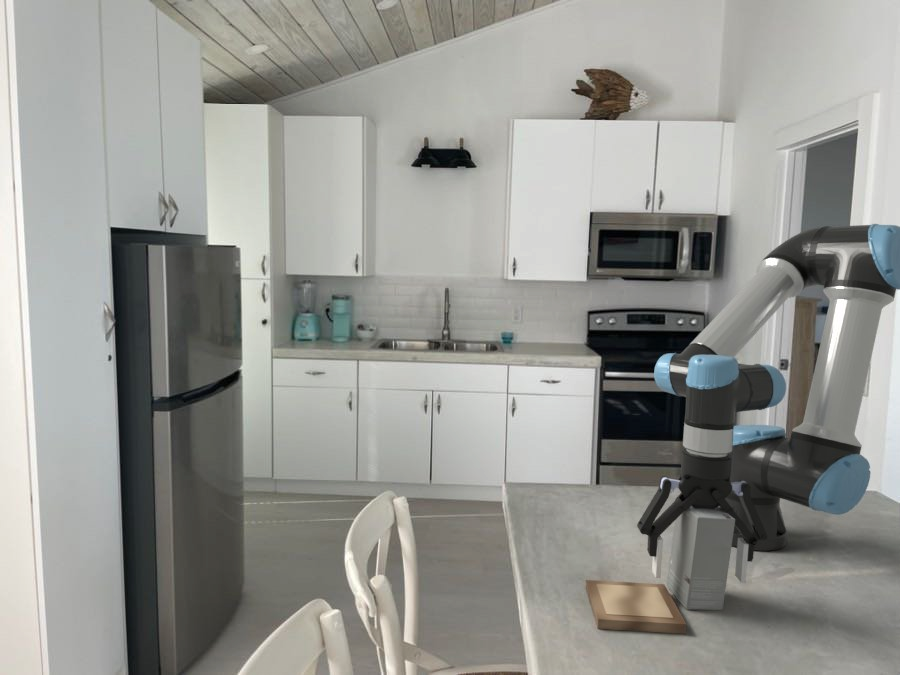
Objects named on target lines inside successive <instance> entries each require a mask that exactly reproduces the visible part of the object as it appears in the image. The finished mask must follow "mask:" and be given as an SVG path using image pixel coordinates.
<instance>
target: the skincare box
mask: <svg viewBox="0 0 900 675" xmlns="http://www.w3.org/2000/svg"><path fill="white" fill-rule="evenodd" d="M734 525H735V519H734V518H733V517H732V516H730V515H729V514H728V513H726V512H725V511H724V510H723V509H722V508H721V507H720V506H718V507H716V508H715V509H709V508H695V507H693V506H691V507H690V508H689V509H688V510H686V511H684V512H683V513H682V514H681V515H680V516H679V517H678V518H677V519H676V520H675V521H674V525H673V534H672V539H671V540H672V541H671V548H670V556H669V563H668V564H669V565H668V570H667V572H668V573H667V578H666V588H667V589H668V590H670V592H671V593H672V594H673V595H674V596H675V598H676V599H677V600H678V601H679V602H680V603H681V605H682V606H683V607H684V608H685V609H686V610H708V611H709V610H711V611H716V610H717V611H720V610H723V609H724V604H725V597H726V596H725V595H726V590H727V582H728V574H729V566H730V559H731V552H732V551H731V550H732V547H733V546H732V539H733V532H734Z"/></svg>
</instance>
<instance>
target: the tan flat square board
mask: <svg viewBox="0 0 900 675" xmlns="http://www.w3.org/2000/svg"><path fill="white" fill-rule="evenodd" d="M585 592H586V595H587V598H588V602H589V604H590V608H591V611H592V615H593V618H594V622H595V625H596V627H597V629H599V630H615V631H631V632H632V631H634V632H646V633H647V632H649V633H664V634H665V633H666V634H667V633H668V634H682V635H686V634H687V623H686V621H685V619H684V617H683V616H682V614H681V612H680V610H679V609H678V607H677V604H676V603H675V600H674V599H673V597H672V596H671V594H670V592H669V589H668V587H667V586H666V585H665V584H664V583H651V582H650V583H649V582H628V581H610V580H593V579H586V580H585Z"/></svg>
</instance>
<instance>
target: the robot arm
mask: <svg viewBox="0 0 900 675" xmlns="http://www.w3.org/2000/svg"><path fill="white" fill-rule="evenodd" d="M813 286H821V287H822V286H823V290H822V291H823V293H824V295H825V296H826V297H827V299H828V300H829V303H828V308H827V313H826V317H825V321H824V327H823V330H822V334H821V338H820V339H821V340H820V344H819V349H818V353H817V359H816V363H815V367H814V372H813V376H812V381H811V383H810V384H811V385H810V389H809V394H808V399H807V402H806V407H805V413H804V416H803V420H802V423H801V424H800V425H798V426H795V427H793V429H792V430H791V434H790V437H786V436H787V433H786V429H785V428H784V427H783V426H778V425H769V424H768V425H767V424H739V425H735V414H736V413H740V412H749V411H762V410H766V409H769V408H773V407H775V406H778V404H780V403H781V402H782V400H784V397H785V395H786V391H787V383H786V379H785V377H784V375H783V373H782V372H781V371H780V370H779V369H778V368H776V367H775V366H773V365H770V364H761V363H755V364H745V363H739V362H738V359H736V358H735V357H736V356H737V355H738V354H739V352H740V351H741V350H742V349H744V347H745V346H746V345H747V344H748V343H749V342H750V341H751V340H752V339H753V337H754V336H755V335H756V334H757V332H759V330H760V329H761V328H762V327H763V326H764V325H765V324H766V323H767V322H768V321H769V320H770V318H771V317H773V315H774V314H775V313H776V312H777V311H778V310H779V309H780V307H781V306H782V305H783V304H784V303H785V302H786V301H787V299H791V298H795V297H797V296H798V295H800V294H801V293H802V291H804V289H806V288H809V287H813ZM897 290H900V226H898V225H895V224H878V223H871V224H865V225H864V224H862V225H861V224H860V225H836V226H835V225H833V226H829V225H827V226H816V227H812V228H810V229H806V230H804V231H801V232H799V233H797V234H795V235H793V236H791V237H789V239H787V240H784V242H782V243H780V244H779V245H778V246H777V247H775V248H774V249H772V251H770V252H769V253H768V254H767V255H766V256H765V257H764V258H763V259H762V260H761V261H760V262H759V263H758V265H757V266H756V272H755V275H754V276H753V277H752V278H750V280H749V281H748V282H747V283H746V284H745V285H744V287H742V289H740V290H739V292H738V293H737V294H736V295H735V296H734V297H733V298H732V299H731V300H730V301H729V302H728V303H727V305H726V306H725V307H724V308H722V309H721V311H720V312H719V313H718V314H717V315H716V316H715V317H714V318H713V319H712V320H711V321H710V322H709V323H708V325H707V326H705V328H703V329H702V330H701V332H699V333H698V334H697V336H696V337H695V338H694V339H693V340H692V341H691V342H690V343H689V344H688V346H686V348H685V349H684V350H682V352H681V353H677V352H674V353H673V352H672V353H671V352H670V353H664V354H663V355H662V356H660V357H659V358H658V360H657V361H656V364H655V366H654V373H653V376H654V381H655V383H656V385H657V387H658V388H659V389H660V390H661V391H662V392H665V393H668V394H672V395H675V396H678V397H685V411H684V412H685V414H684V422H683V424H684V425H683V434H682V435H683V436H682V437H683V438H682V446H683V447H684V449H683V450H682V451H681V463H680V464H681V467H680V476H679V477H678V479H673V478H669V477H667V476H666V475H662V476H660V479H659V484H658V489H657V491H655V494H654V495H653V496H652V499H651V501H650V502H649V504H648V506H647V507H646V508H645V511H644V512H643V514H642V515H641V517H640V519H639V521H638V522H637V524H636V526H637V528H638V530H639V532H640V533H641V534H642V535H645V536H647V547H646V548H647V549H646V550H647V552H648V553H647V554H648V555H649V556H650V557H652V563H651V565H652V568H651V572H652V574H653V576H654V577H655V579H661V576H662V564H663V563H662V561H663V546H664V539H663V538H662V536H661V535H662V534H663V533H664V532H665V531H667V529H668V528H669V527H671V525H672V524H673V523H675V520H676V519H677V518H678V517H679V516H680V515H681V514H682V513H683V512H684V511H686V510H688V509H689V508H690V507H691V506H693V507H695V508H709V509H715V508H716V507H718V506H720V507H721V508H722V509H723V510H724V511H725V512H726V513H728V514H729V515H730V516H732V517H733V518H734V519H735V525H734V532H733V539H732V546H731V547H734V548H735V547H736V556H735V558H736V559H735V571H734V576H735V578H736V579H737V580H738V581H739V583H740V584H741V583H742V584H746V582H747V569H748V562H753V560H754V552H755V551H762V552H763V551H776V550H780V549H783V548H784V547H786V545H787V536H788V532H787V531H788V530H787V528H786V524H785V519H784V516H783V513H782V509H781V504H780V503H781V499H783V500H786V501H788V502H791V503H794V504H797V505H800V506H804V507H807V508H810V509H812V511H818V512H823V513H827V514H831V515H836V516H837V515H844V514H846V513H848V512H850V511H851V510H853V509H854V508H855V507H856V506H857V505H858V504H859V503H860V502H861V500H862V498H864V495H865V493H866V491H867V489H868V486H869V485H870V484H869V482H870V479H871V470H870V469H871V465H870V463H869V460H868V459H867V458H866V457H865V456H863V455H862V454H861V452H862V451H861V450H862V443H861V442H860V441H859V440H858V438H857V437H856V434H855V433H856V429H857V424H858V419H859V416H860V410H861V406H862V402H863V396H864V392H865V387H866V384H867V380H868V373H869V370H870V364H871V360H872V355H873V353H874V352H873V351H874V347H875V343H876V338H877V333H878V330H879V324H880V320H881V319H880V318H881V314H882V310H883V309H884V308H885V307H886V306H888V305H890V304H891V303H892V302H894V300H895V296H896V291H897ZM675 489H678V490H679V492H680V494H678V495H677V497H675V500H674V501H673V502H672V503H671V504H670V505H669V506H668V508H666V509H665V511H663V512H662V513H661V514H660V512H661V510H662V509H663V507H664V506H665V503H667V500H668V499H669V497H670V494H671V493H673V492H674V491H675ZM659 514H660V515H659Z"/></svg>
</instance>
